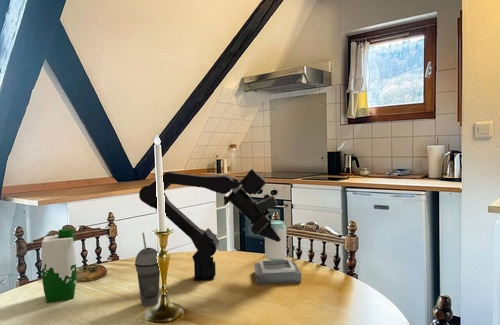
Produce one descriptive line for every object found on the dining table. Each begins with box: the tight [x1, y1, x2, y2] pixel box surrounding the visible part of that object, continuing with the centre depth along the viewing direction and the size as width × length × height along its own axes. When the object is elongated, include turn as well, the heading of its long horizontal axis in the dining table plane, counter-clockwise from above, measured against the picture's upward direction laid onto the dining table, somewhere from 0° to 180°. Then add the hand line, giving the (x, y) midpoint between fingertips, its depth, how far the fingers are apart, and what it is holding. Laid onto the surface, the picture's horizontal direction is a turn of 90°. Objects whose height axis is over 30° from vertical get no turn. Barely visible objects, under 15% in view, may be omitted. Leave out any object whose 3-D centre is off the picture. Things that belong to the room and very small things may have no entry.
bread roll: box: [76, 264, 108, 282], centre depth 128 cm, size 11×11×5 cm
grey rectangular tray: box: [253, 258, 302, 285], centre depth 122 cm, size 14×12×4 cm
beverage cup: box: [134, 232, 161, 307], centre depth 104 cm, size 7×7×20 cm
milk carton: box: [40, 227, 78, 304], centre depth 110 cm, size 9×9×20 cm
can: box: [264, 219, 288, 261], centre depth 122 cm, size 7×7×12 cm
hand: (279, 237), depth 121 cm, fingers closed on can, 7 cm apart
